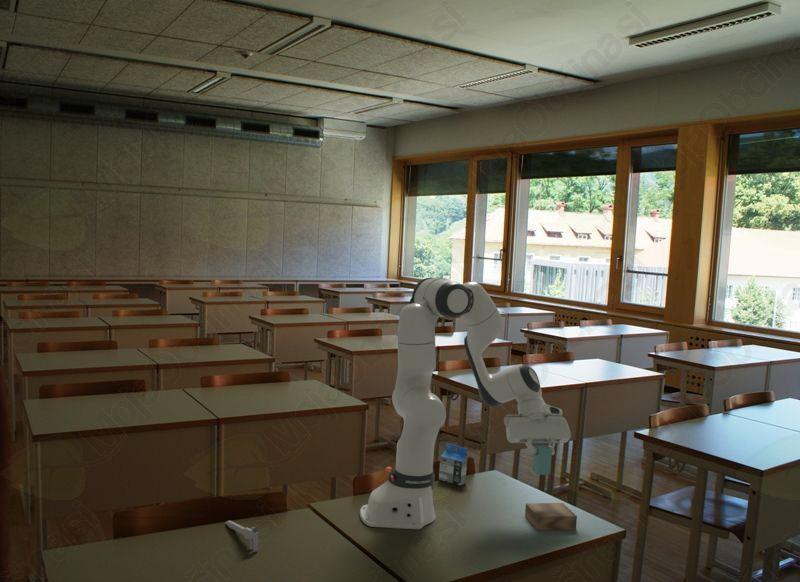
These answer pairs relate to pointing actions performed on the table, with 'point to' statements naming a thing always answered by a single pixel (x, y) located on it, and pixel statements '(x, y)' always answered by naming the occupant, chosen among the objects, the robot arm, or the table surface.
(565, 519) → the walnut block
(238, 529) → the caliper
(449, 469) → the label tape box
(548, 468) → the teal column
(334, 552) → the table surface
